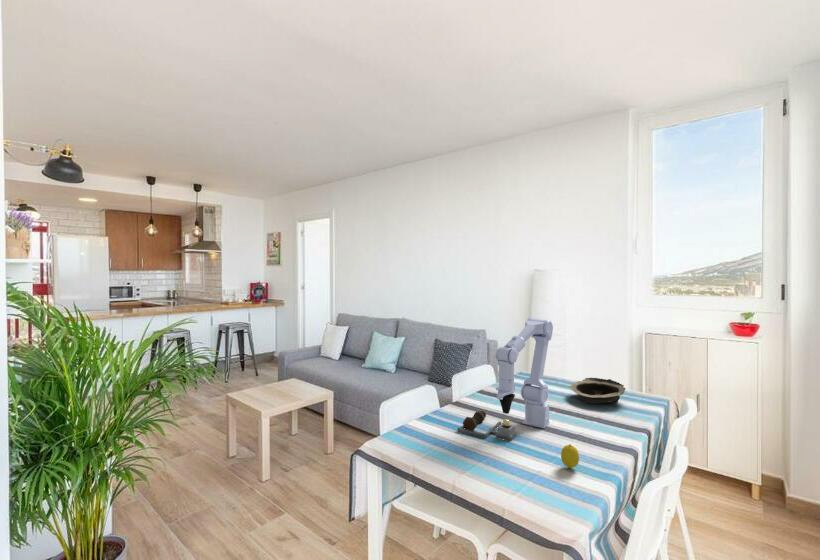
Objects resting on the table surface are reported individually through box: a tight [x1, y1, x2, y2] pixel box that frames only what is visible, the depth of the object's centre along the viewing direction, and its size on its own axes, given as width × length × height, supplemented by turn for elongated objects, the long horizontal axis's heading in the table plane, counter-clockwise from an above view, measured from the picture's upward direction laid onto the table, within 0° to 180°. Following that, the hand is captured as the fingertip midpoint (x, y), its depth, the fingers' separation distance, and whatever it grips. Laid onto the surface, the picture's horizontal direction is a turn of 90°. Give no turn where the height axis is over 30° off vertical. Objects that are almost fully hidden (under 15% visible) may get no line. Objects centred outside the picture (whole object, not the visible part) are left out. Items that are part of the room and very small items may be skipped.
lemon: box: [560, 443, 580, 470], centre depth 132 cm, size 6×6×8 cm
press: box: [456, 421, 517, 442], centre depth 162 cm, size 21×17×4 cm
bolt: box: [462, 410, 487, 431], centre depth 169 cm, size 6×5×15 cm
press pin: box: [502, 418, 510, 428], centre depth 156 cm, size 2×2×3 cm
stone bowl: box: [569, 377, 626, 405], centre depth 197 cm, size 25×25×9 cm
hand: (506, 412), depth 156 cm, fingers closed
